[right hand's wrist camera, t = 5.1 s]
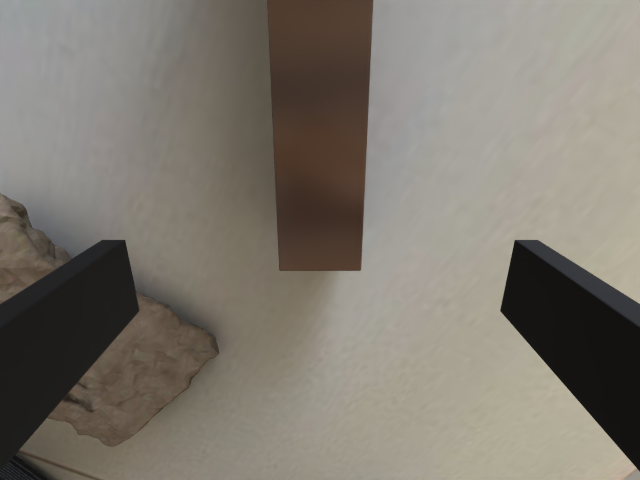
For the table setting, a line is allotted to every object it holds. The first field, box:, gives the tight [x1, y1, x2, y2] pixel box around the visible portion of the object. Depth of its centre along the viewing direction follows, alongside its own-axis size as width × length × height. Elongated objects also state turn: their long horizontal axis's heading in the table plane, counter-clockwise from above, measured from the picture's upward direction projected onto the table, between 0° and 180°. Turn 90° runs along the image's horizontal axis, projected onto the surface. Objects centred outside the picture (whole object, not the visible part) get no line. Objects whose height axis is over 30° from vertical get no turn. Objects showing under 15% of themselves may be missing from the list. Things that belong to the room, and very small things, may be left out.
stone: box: [0, 194, 219, 447], centre depth 30 cm, size 21×15×6 cm
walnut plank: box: [267, 0, 373, 271], centre depth 20 cm, size 30×5×8 cm, turn 0°
